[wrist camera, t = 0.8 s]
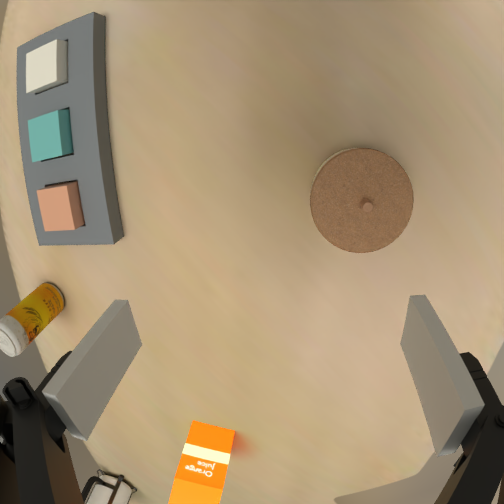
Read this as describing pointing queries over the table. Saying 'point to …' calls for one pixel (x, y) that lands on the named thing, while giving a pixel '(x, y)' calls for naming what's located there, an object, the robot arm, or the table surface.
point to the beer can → (29, 318)
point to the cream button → (47, 66)
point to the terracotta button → (61, 206)
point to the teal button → (50, 135)
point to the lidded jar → (361, 199)
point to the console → (74, 134)
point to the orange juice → (202, 465)
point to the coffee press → (107, 490)
